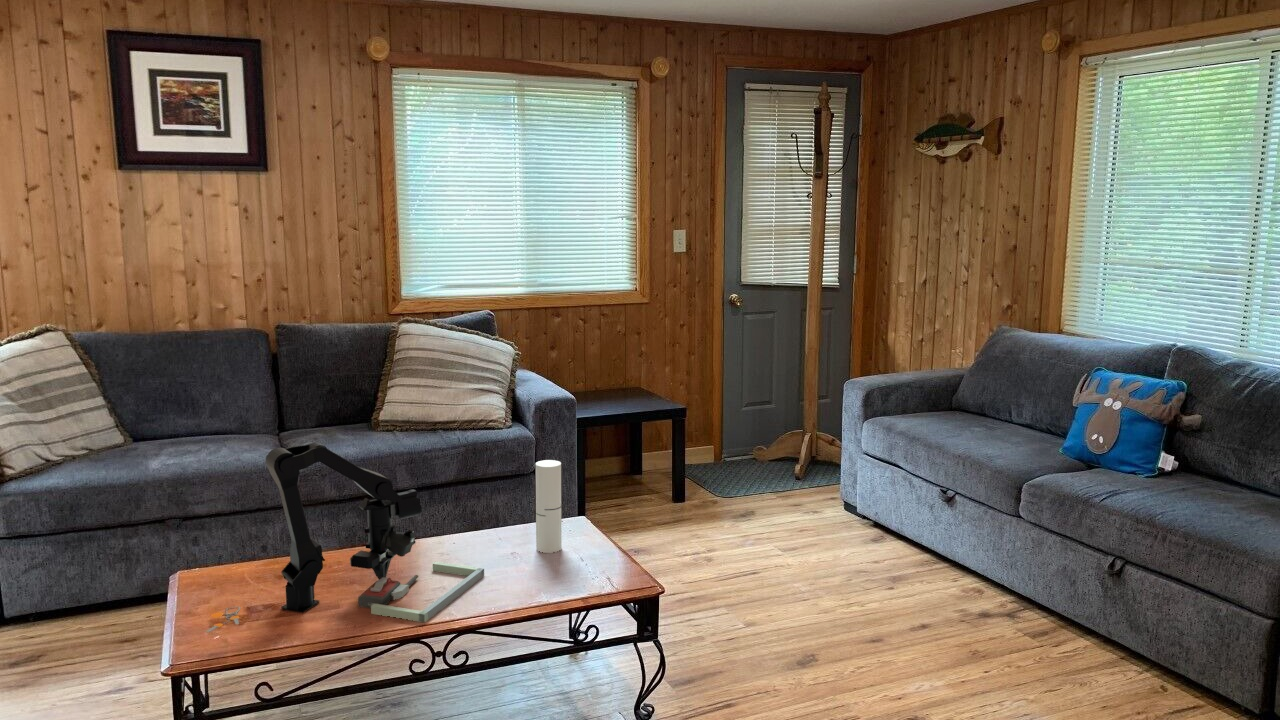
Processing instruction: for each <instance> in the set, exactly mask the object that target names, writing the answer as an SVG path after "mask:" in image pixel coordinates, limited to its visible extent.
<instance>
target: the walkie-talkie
mask: <svg viewBox="0 0 1280 720" xmlns="http://www.w3.org/2000/svg"><path fill="white" fill-rule="evenodd" d="M418 578H419V575H418V574H415V575H414V576H412V577H411V579H410V580H409V581H407V582H406V583H405V584H402V583H401V582H400V581H399V580H392V578H391V577H387V576H386V577H381V578H380V580H379V579H378V580H376V581H374V582H373V583H372V584H371V585H370V586H368V588H367V589H365V590H364V592H362V593H361V594H360V595H359V596H358V598H357V599H358V607H360V608H370V609H371V606H372V605H373V604H374V603H375V604H381V605H388V603H390V602H391V601H396V600H398V599H402V598H403V597H405V595H407V594H408V593H409V592H410V587H411V586H412V585H413V583H415V582H416V580H417V579H418ZM401 597H402V598H401ZM395 599H396V600H395ZM390 600H391V601H390Z"/></svg>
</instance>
